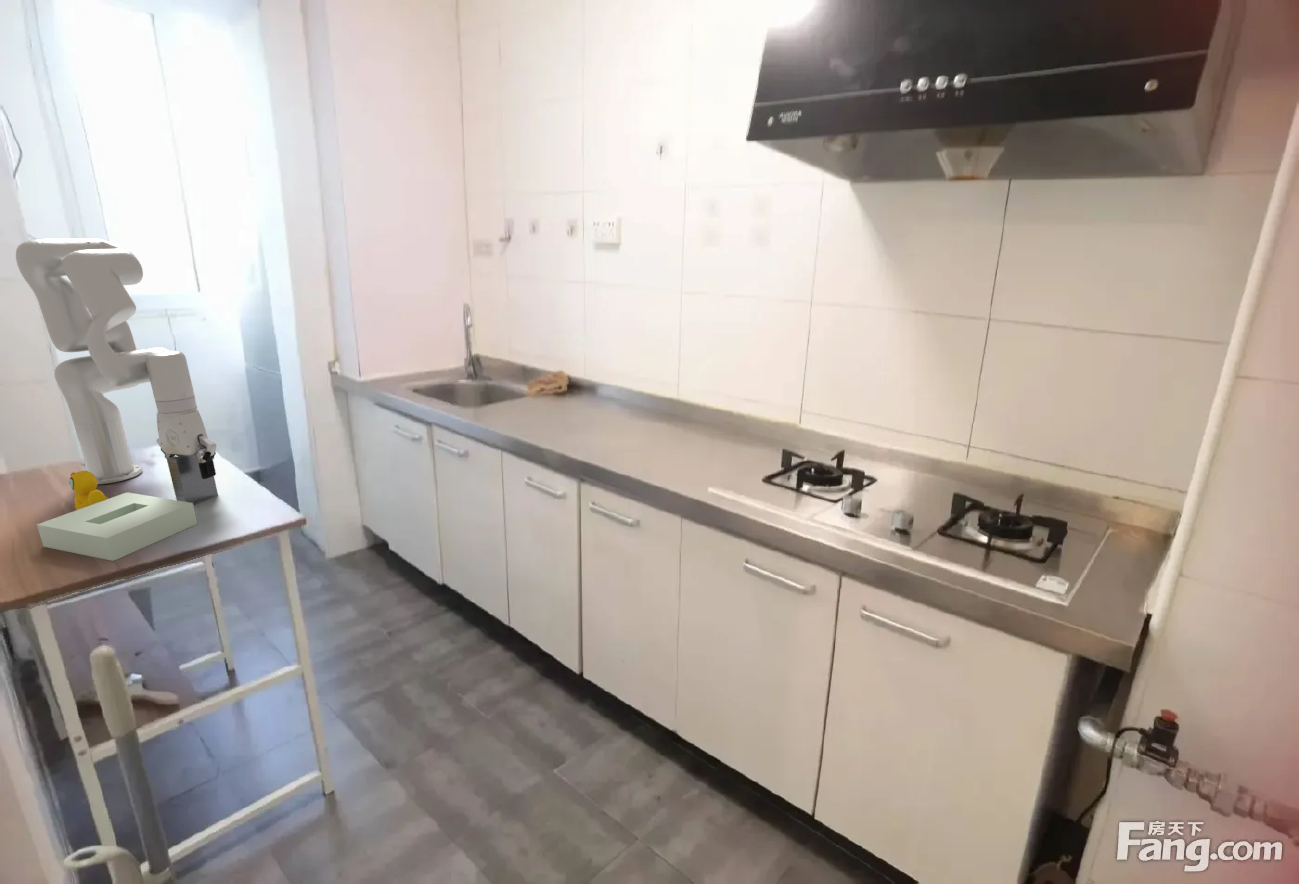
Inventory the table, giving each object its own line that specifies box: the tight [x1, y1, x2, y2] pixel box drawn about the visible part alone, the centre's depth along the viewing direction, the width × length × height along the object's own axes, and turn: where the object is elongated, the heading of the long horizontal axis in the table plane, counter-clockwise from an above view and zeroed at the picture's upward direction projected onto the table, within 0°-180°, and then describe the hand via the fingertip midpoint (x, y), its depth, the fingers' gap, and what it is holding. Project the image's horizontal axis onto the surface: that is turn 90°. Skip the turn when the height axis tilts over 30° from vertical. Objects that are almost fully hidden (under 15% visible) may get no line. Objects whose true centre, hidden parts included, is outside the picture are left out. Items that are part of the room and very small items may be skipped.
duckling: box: [69, 470, 109, 511], centre depth 150 cm, size 11×5×10 cm, turn 59°
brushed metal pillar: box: [166, 453, 219, 506], centre depth 157 cm, size 3×8×12 cm, turn 162°
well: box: [36, 491, 198, 562], centre depth 140 cm, size 20×18×5 cm
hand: (193, 475), depth 157 cm, fingers open, 9 cm apart
